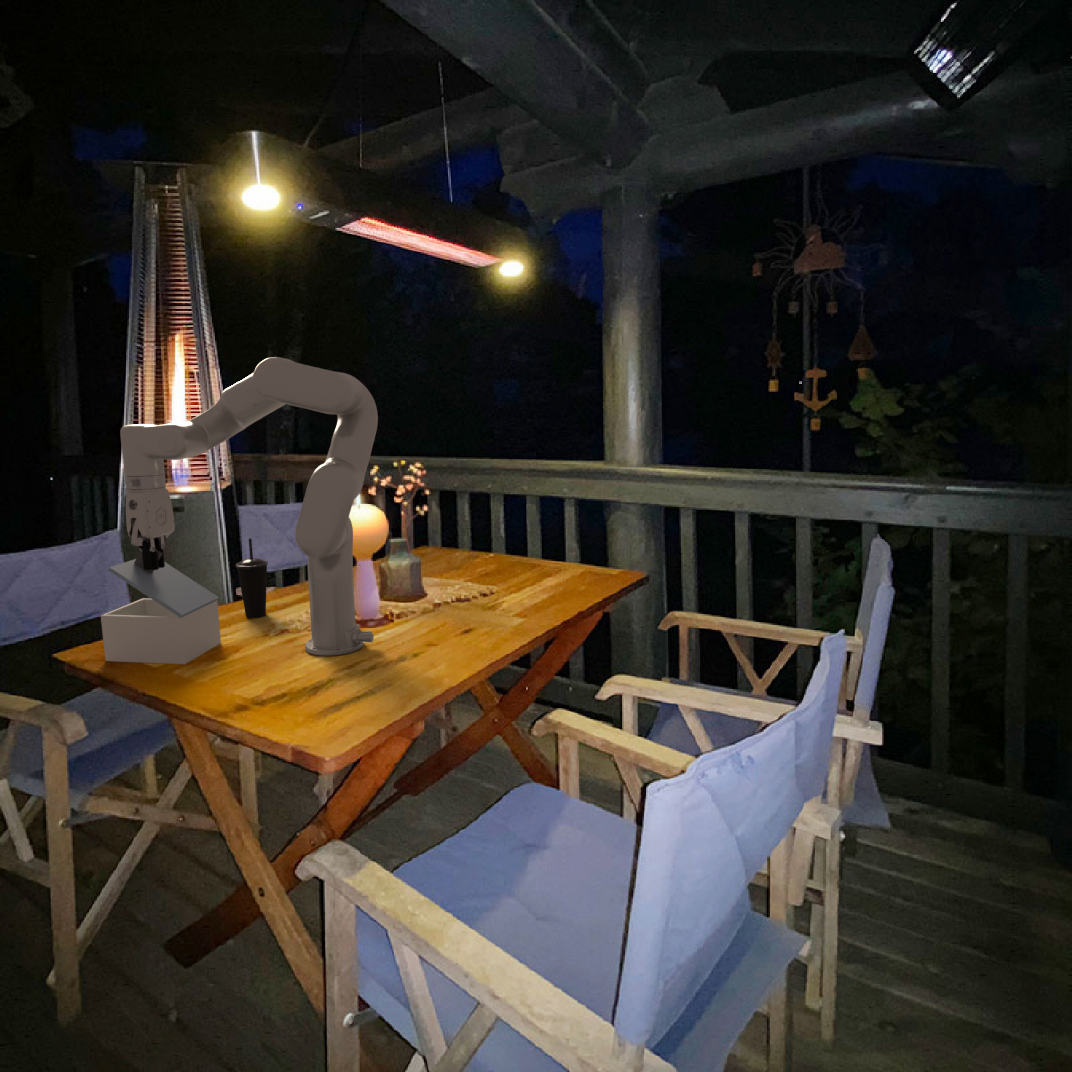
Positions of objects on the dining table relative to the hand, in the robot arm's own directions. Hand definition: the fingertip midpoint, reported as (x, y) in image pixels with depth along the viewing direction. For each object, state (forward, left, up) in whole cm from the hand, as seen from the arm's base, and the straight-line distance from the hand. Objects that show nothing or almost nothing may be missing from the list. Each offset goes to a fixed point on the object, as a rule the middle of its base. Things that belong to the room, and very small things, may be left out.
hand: (154, 568), depth 161 cm
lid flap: (-2, 0, -4) cm, 4 cm away
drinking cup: (-7, -29, -19) cm, 35 cm away
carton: (-1, 0, -19) cm, 19 cm away
